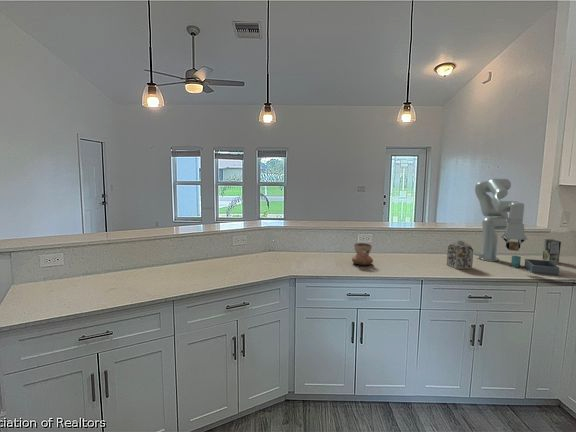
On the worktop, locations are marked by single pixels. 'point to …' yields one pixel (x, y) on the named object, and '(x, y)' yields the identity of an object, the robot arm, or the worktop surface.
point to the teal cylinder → (515, 261)
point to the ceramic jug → (362, 254)
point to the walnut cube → (513, 245)
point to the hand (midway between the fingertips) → (512, 248)
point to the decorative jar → (460, 255)
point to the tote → (541, 267)
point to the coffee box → (551, 250)
